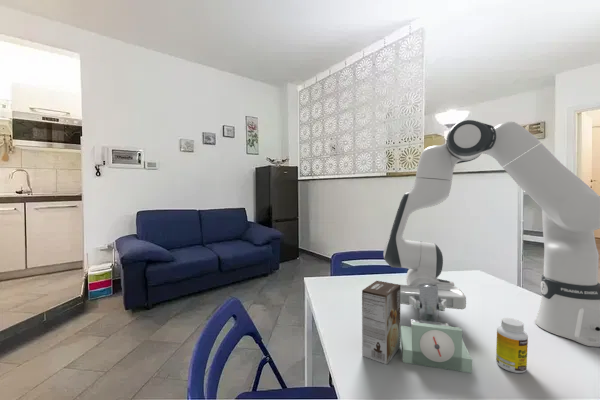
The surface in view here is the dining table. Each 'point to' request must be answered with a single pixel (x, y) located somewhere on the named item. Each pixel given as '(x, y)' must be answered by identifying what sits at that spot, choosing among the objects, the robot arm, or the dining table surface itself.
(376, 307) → the coffee box
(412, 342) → the scale
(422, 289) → the cylinder
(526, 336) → the supplement bottle
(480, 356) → the dining table surface
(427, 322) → the grey square slab
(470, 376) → the dining table surface
